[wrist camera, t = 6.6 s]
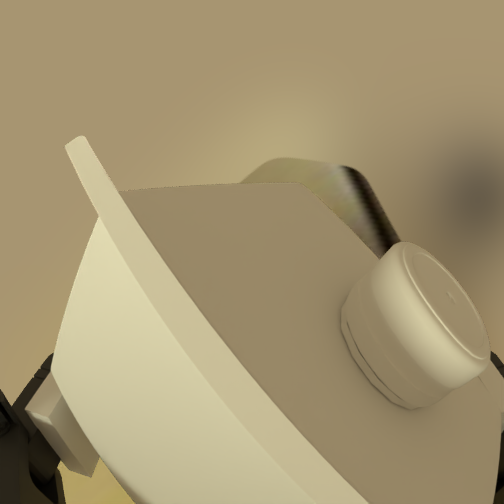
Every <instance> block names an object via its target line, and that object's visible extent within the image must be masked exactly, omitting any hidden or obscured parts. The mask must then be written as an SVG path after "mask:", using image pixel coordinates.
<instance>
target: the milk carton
mask: <svg viewBox="0 0 504 504" xmlns="http://www.w3.org/2000/svg"><path fill="white" fill-rule="evenodd" d="M65 149H66V151H67V153H68V155H69V158H70V160H71V162H72V164H73V166H74V168H75V170H76V172H77V174H78V176H79V178H80V180H81V182H82V184H83V186H84V188H85V190H86V192H87V194H88V196H89V198H90V200H91V202H92V204H93V206H94V208H95V209H96V211H97V213H98V215H99V217H98V219H97V222H96V224H95V227H94V229H93V232H92V234H91V237H90V239H89V242H88V245H87V247H86V250H85V253H84V255H83V258H82V261H81V264H80V267H79V269H78V272H77V275H76V278H75V281H74V284H73V287H72V290H71V294H70V297H69V300H68V303H67V307H66V310H65V313H64V317H63V320H62V324H61V328H60V332H59V335H58V339H57V343H56V347H55V351H54V355H53V360H52V364H51V372H52V374H53V377H54V379H55V381H56V383H57V385H58V387H59V389H60V391H61V393H62V395H63V397H64V399H65V400H66V402H67V404H68V406H69V408H70V410H71V411H72V413H73V415H74V417H75V418H76V420H77V422H78V423H79V425H80V427H81V428H82V430H83V432H84V433H85V435H86V436H87V438H88V439H89V441H90V443H91V444H92V446H93V447H94V449H95V450H96V452H97V453H98V455H99V456H100V457H101V459H102V460H103V462H104V463H105V465H106V466H107V467H108V469H109V470H110V472H111V473H112V474H113V476H114V477H115V478H116V480H117V481H118V482H119V483H120V485H121V486H122V487H123V489H124V490H125V491H126V492H127V494H128V495H129V496H130V497H131V498H132V500H133V501H134V502H135V503H136V504H493V500H494V495H495V488H496V482H497V474H498V466H499V455H500V442H501V411H500V409H499V407H498V405H497V403H496V402H495V400H494V399H493V397H492V396H491V394H490V393H489V391H488V390H487V389H486V387H485V386H484V384H483V383H482V382H481V380H480V379H479V377H478V375H479V374H481V373H482V372H483V371H484V370H485V369H486V368H487V366H488V363H489V361H490V354H491V350H490V343H489V338H488V334H487V330H486V327H485V325H484V322H483V320H482V318H481V316H480V313H479V312H478V310H477V308H476V306H475V305H474V303H473V301H472V300H471V298H470V297H469V295H468V294H467V293H466V291H465V290H464V289H463V287H462V286H461V285H460V283H459V282H458V281H457V280H456V278H455V277H454V276H453V275H452V274H451V273H450V272H449V270H448V269H447V268H445V266H444V265H443V264H442V263H441V262H440V261H439V260H437V259H436V258H435V257H434V256H433V255H432V254H430V253H429V252H428V251H426V250H425V249H423V248H421V247H419V246H418V245H416V244H414V243H411V242H406V241H405V242H404V241H402V242H399V243H397V244H394V245H393V246H392V247H391V248H390V249H389V250H388V251H387V252H386V253H385V255H384V256H383V257H382V258H381V259H379V258H378V257H377V256H376V255H375V254H374V253H373V252H372V251H371V250H370V249H369V248H368V247H367V246H366V245H365V243H364V242H363V241H362V240H361V239H360V238H359V237H358V236H357V235H356V234H355V233H354V232H353V231H352V230H351V229H350V228H349V227H348V226H347V225H346V224H345V223H344V222H343V221H342V220H341V219H340V218H339V217H338V216H337V215H336V214H335V213H334V212H333V211H332V210H331V209H330V208H329V207H328V206H327V205H325V204H324V203H323V202H322V201H321V200H320V199H319V198H318V197H317V196H316V195H315V194H314V193H313V192H311V191H310V190H309V189H308V188H307V187H306V186H304V185H303V184H301V183H296V182H281V183H240V184H217V185H197V186H179V187H164V188H151V189H139V190H128V191H118V190H117V188H116V187H115V186H114V184H113V182H112V181H111V179H110V178H109V176H108V175H107V173H106V172H105V170H104V168H103V167H102V165H101V164H100V162H99V160H98V159H97V157H96V155H95V154H94V152H93V150H92V149H91V147H90V145H89V143H88V142H87V140H86V138H85V137H84V136H78V137H76V138H75V139H74V140H72V141H71V142H70V143H68V144H67V145H66V146H65Z"/></svg>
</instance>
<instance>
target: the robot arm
mask: <svg viewBox="0 0 504 504" xmlns="http://www.w3.org/2000/svg"><path fill="white" fill-rule="evenodd" d="M53 355H54V353H52V354H51V355H50V356H48V358H47V359H46V360H45V362H44V363H43V364H42V365H41V369H38V371H37V372H36V373H35V375H34V378H32V379H31V380H30V382H29V383H28V384H27V386H26V387H25V388H24V390H23V391H22V393H21V394H20V395H19V397H18V398H17V400H16V401H15V402H14V404H13V405H12V407H11V405H10V404H9V402H8V400H7V399H6V397H5V396H4V394H3V392H2V391H1V389H0V504H66V502H65V496H64V490H63V483H62V477H61V474H60V471H59V470H58V469H57V467H58V464H59V462H60V460H61V461H62V462H63V463H64V464H65V466H66V467H67V468H68V469H69V470H70V471H73V472H76V473H79V474H82V475H85V476H88V477H92V474H93V472H94V469H95V467H96V464H97V462H98V460H99V457H100V456H99V455H98V453H97V452H96V450H95V449H94V447H93V446H92V444H91V443H90V441H89V439H88V438H87V436H86V435H85V433H84V432H83V430H82V428H81V427H80V425H79V423H78V422H77V420H76V418H75V417H74V415H73V413H72V411H71V410H70V408H69V406H68V404H67V402H66V400H65V399H64V397H63V395H62V393H61V391H60V389H59V387H58V385H57V383H56V381H55V379H54V377H53V374H52V372H51V364H52V360H53ZM478 377H479V379H480V380H481V382H482V383H483V384H484V386H485V387H486V389H487V390H488V391H489V393H490V394H491V396H492V397H493V399H494V400H495V402H496V403H497V405H498V407H499V409H500V411H501V442H500V455H499V466H498V474H497V482H496V488H495V495H494V500H493V504H504V364H503V363H502V362H501V361H500V359H499V358H498V357H497V355H496V354H494V353H493V352H492V351H491V354H490V361H489V363H488V366H487V368H486V369H485V370H484V371H483V372H482V373H481V374H479V375H478Z"/></svg>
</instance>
